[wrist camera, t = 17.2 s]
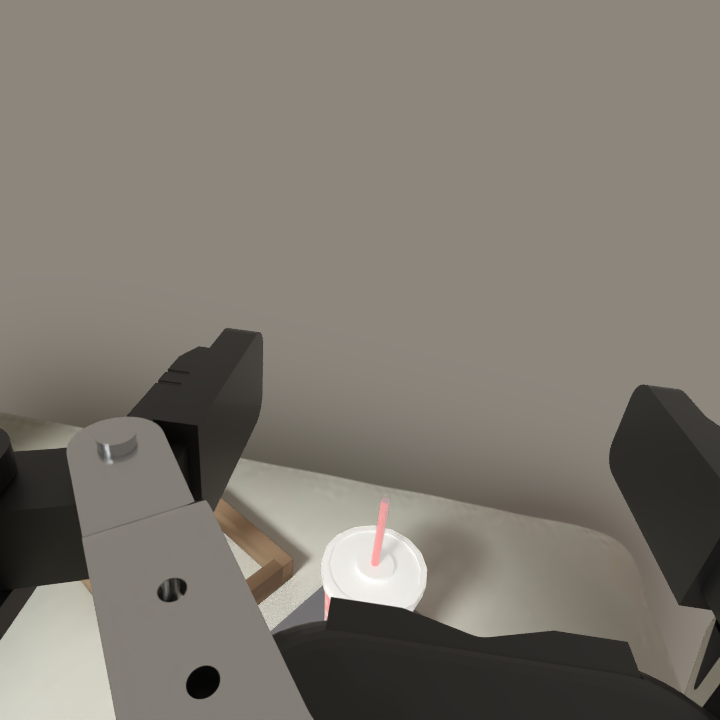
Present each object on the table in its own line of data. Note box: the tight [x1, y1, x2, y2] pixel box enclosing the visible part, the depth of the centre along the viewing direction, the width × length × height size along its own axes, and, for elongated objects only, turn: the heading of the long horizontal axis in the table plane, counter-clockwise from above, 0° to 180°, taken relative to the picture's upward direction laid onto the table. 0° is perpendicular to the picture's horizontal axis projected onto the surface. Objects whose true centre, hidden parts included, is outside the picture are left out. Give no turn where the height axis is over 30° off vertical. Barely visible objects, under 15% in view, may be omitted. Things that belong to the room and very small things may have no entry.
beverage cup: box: [321, 497, 427, 621], centre depth 30 cm, size 6×6×14 cm
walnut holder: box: [81, 498, 293, 605], centre depth 38 cm, size 11×11×2 cm
